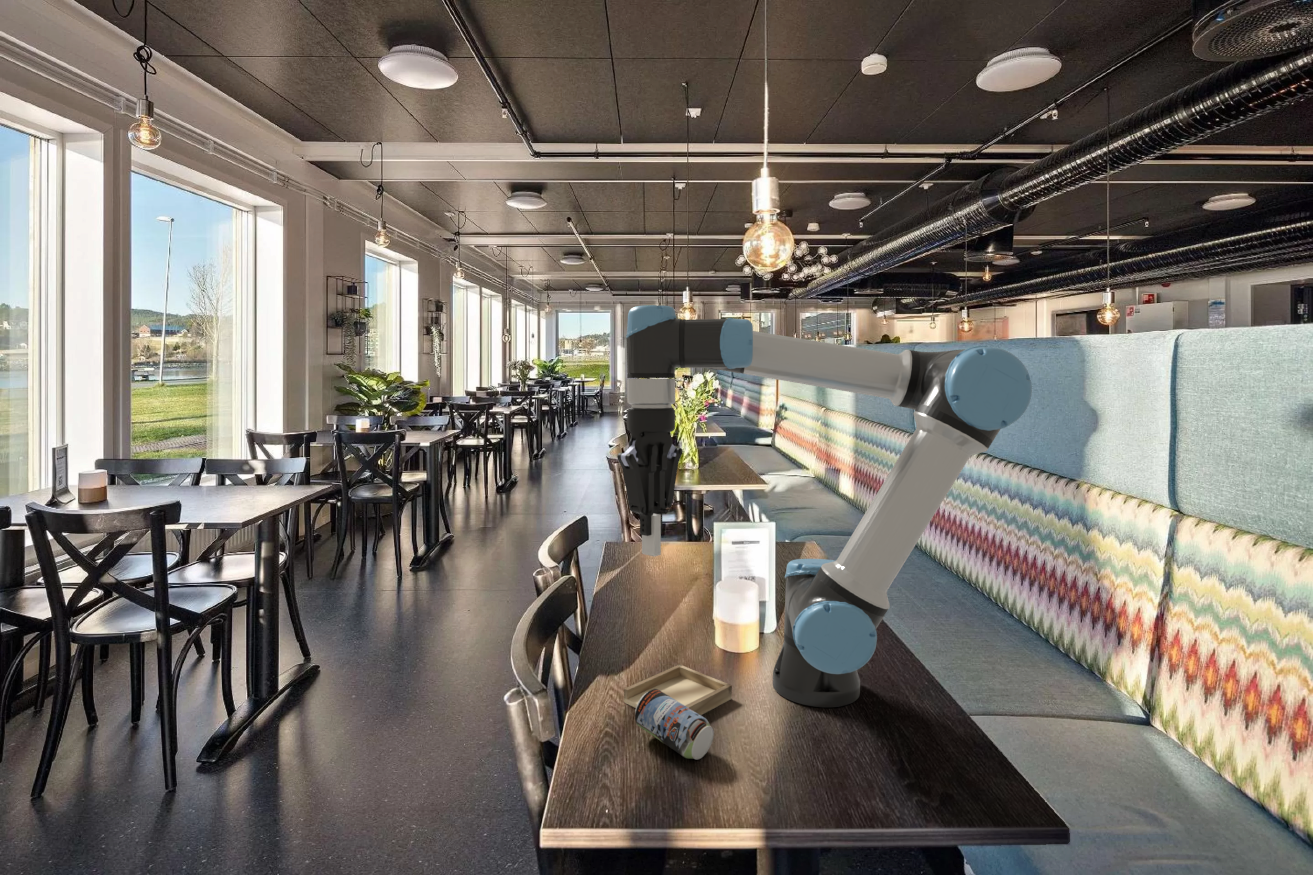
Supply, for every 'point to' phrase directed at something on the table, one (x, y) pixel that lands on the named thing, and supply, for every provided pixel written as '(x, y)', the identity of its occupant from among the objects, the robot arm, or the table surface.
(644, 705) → the beverage can
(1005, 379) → the robot arm
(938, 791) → the table surface
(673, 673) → the beige tray
